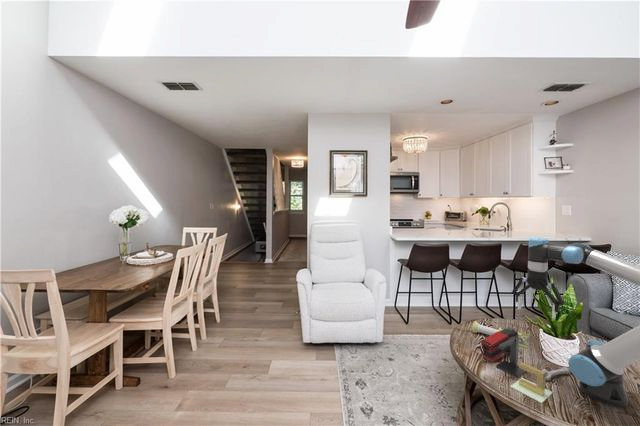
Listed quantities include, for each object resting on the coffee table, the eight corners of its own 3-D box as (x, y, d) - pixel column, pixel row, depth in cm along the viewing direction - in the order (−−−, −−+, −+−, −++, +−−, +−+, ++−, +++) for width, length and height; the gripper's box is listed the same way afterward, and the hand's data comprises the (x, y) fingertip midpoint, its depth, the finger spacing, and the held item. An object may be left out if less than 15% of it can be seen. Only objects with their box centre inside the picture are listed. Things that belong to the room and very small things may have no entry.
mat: (552, 393, 123) (552, 392, 123) (541, 403, 116) (541, 402, 116) (522, 378, 133) (522, 377, 133) (510, 387, 127) (510, 386, 127)
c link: (544, 394, 121) (545, 372, 121) (542, 396, 120) (543, 374, 120) (521, 382, 129) (522, 362, 129) (518, 384, 128) (519, 363, 127)
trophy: (471, 321, 177) (528, 338, 156) (474, 318, 183) (530, 333, 162) (470, 334, 178) (528, 352, 157) (474, 330, 183) (530, 347, 162)
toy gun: (520, 352, 154) (518, 328, 152) (492, 370, 146) (489, 345, 144) (511, 347, 159) (508, 324, 157) (483, 365, 151) (479, 340, 149)
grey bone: (537, 377, 134) (545, 382, 130) (538, 367, 134) (546, 371, 130) (563, 375, 139) (571, 380, 135) (564, 365, 139) (573, 370, 135)
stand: (526, 372, 138) (527, 341, 137) (510, 384, 129) (511, 350, 128) (504, 362, 146) (505, 332, 145) (488, 372, 137) (489, 341, 136)
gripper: (574, 274, 124) (572, 320, 125) (510, 264, 145) (509, 303, 145) (569, 277, 120) (567, 324, 121) (505, 266, 140) (503, 307, 141)
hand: (536, 313), depth 133 cm, fingers open, 13 cm apart
